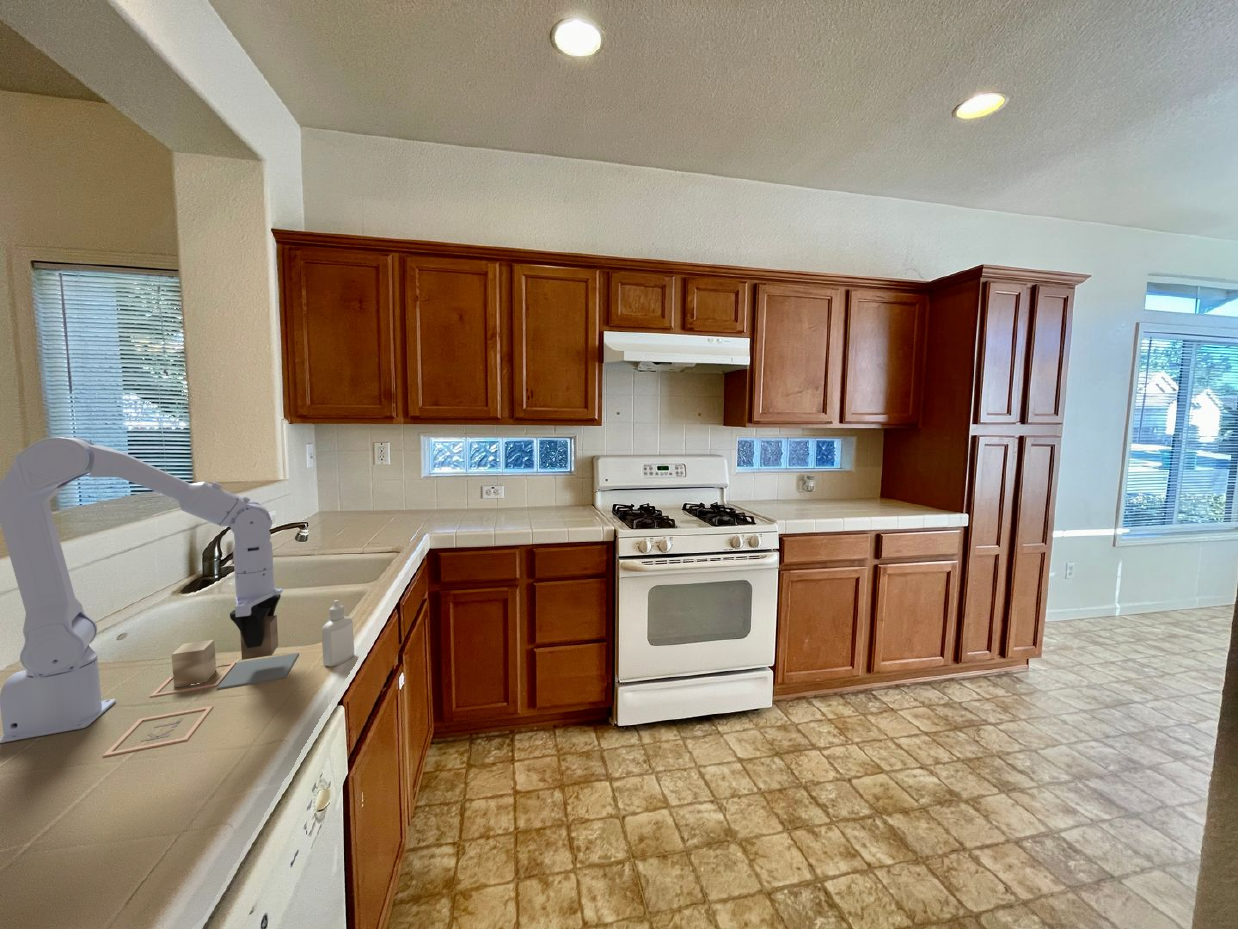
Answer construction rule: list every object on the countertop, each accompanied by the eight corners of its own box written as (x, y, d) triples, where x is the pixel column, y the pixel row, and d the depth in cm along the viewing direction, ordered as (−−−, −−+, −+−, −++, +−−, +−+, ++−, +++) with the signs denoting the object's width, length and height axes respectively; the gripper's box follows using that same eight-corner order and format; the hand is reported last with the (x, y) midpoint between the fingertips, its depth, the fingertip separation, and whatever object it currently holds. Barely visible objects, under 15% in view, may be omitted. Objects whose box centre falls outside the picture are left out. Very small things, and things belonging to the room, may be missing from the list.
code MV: (149, 697, 81) (149, 696, 81) (176, 672, 89) (175, 671, 89) (217, 686, 84) (217, 685, 84) (236, 663, 93) (236, 661, 93)
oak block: (174, 687, 84) (171, 654, 84) (186, 675, 88) (183, 643, 88) (206, 682, 86) (203, 649, 85) (216, 670, 90) (214, 639, 89)
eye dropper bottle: (358, 659, 94) (355, 599, 93) (325, 669, 90) (322, 607, 89) (352, 652, 97) (349, 594, 96) (320, 661, 93) (316, 601, 92)
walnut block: (241, 660, 87) (240, 627, 86) (249, 649, 91) (248, 618, 90) (271, 655, 88) (270, 623, 88) (278, 645, 92) (276, 615, 92)
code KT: (102, 758, 66) (102, 755, 66) (139, 720, 74) (139, 719, 74) (187, 741, 69) (187, 739, 69) (213, 707, 78) (213, 705, 78)
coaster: (216, 690, 83) (216, 687, 83) (237, 664, 92) (237, 662, 92) (285, 678, 87) (285, 676, 87) (298, 654, 96) (298, 653, 96)
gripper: (268, 577, 83) (273, 653, 84) (290, 557, 97) (294, 623, 98) (217, 582, 81) (223, 661, 81) (247, 561, 94) (252, 628, 95)
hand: (258, 640), depth 89 cm, fingers closed on walnut block, 4 cm apart
